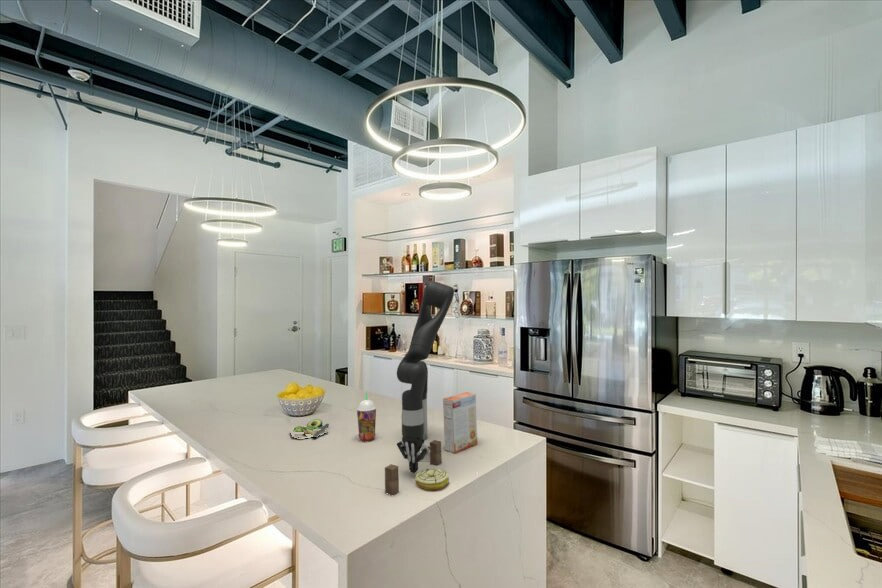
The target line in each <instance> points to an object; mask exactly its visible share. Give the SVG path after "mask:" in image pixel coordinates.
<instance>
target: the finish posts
mask: <svg viewBox="0 0 882 588" xmlns="http://www.w3.org/2000/svg"><path fill="white" fill-rule="evenodd" d="M429 447H430V450H429V465H431V466H435V467H438V466H440V465H441V464H442V463H443V462H442V441H441V440H436V439H433V440H431V441H430V442H429ZM399 480H400V479H399V466H398V465H395V464H392V463H391V464H388V465H387V466H385V467H384V493H385V494H386V493H388V494H387V495H389V494H390V495H389V496H392V495H393V496H395V495H396V494H397V492H398V493H399V492H400V490H399V489H400V484H399ZM394 494H395V495H394Z"/></svg>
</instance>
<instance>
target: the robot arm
mask: <svg viewBox="0 0 882 588" xmlns="http://www.w3.org/2000/svg"><path fill="white" fill-rule="evenodd" d="M454 289H455V288H454V287H452V286H450V285H447V284H444V283H442V282H439V281H435V280H430V281H428V282H427V283H426V284H425V287H424V291H423V295H422V299H421V303H420V309H419V313H418V317H417V320H416V323H415V325H414V330H413V333H412V336H411V341H410V343H409V348H408V351H407V352H406V354H405V355H404V357H403V358H402V360H401V361H400V362H399V364H398V366H397V369H396V376H397V377H396V378H397V380H398V382H400V383H404V384H406V385H407V384H409V385H411V387H410V389H407V390H404V391H403V392H402V394H401V436H402V438H401V441H398V442H397V443H396V446H397V448H398V450H399V451H400V452H399V453H401V455H402V457H403V459H405V460H407V461H408V469H409V471H410V473H412V474H415V473H417V472H418V471H419V462H421V461H422V460H424V458H425V457H426V455H427V454H428V453H429V452H430V445H428V446H427V444H425V441H426V440H427V439H428V402H427V401H428V397H427V396H428V376H429V373H428V372H429V371H428V370H429V369H428V366H427V363H426V362H425V361H424V360H427V359H428V358H429V356H430V353H431V350H432V348H433V346H434V344H435V340H436V337H437V334H438V332H439V330H440V329H441V326H442V324H443V322H444V320H445V318H446V316H447V313H448V311H449V309H450V307H451V304H452V302H453V298H454V296H455V295H454V294H455V290H454ZM431 306H432V307H434V308H437V309H439V310H438V312H437V313H436V315H434V316H432V312H431Z"/></svg>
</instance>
